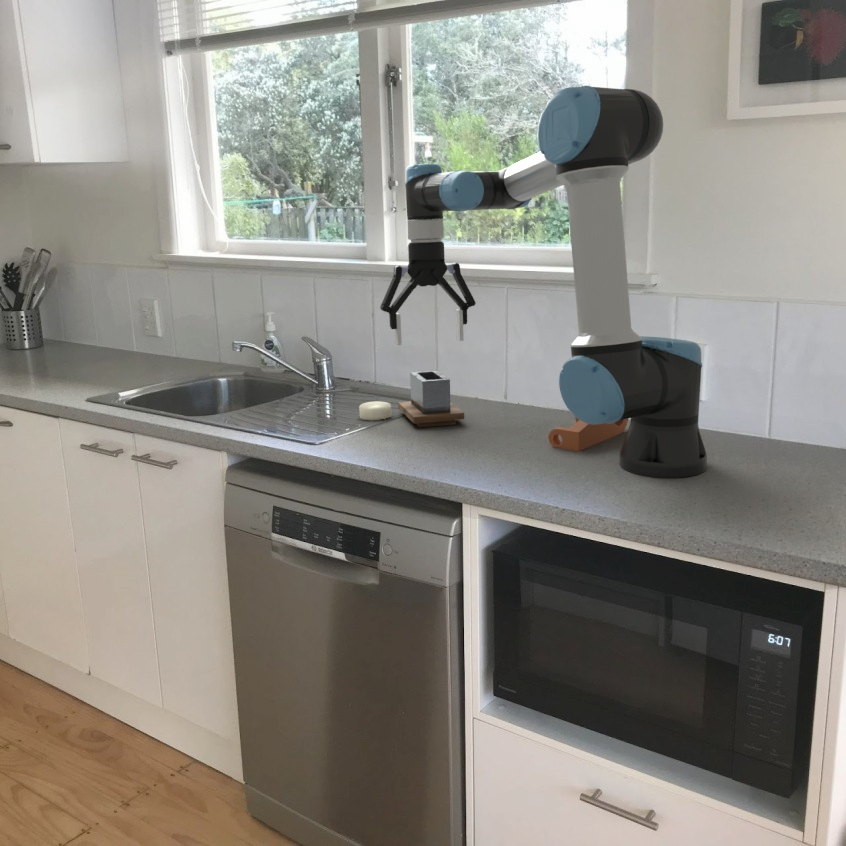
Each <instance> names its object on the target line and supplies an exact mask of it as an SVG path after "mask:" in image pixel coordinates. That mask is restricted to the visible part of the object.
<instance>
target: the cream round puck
mask: <svg viewBox="0 0 846 846" xmlns="http://www.w3.org/2000/svg"><path fill="white" fill-rule="evenodd" d="M358 409H359V418H360V419H361V420H365V421H366V420H367V421H381V420H380V419H384V420H387V419H386V418H388V419H390V418H392V404H391V403H390V402H387V401H380V400H379V401H376V400H375V401H368V402H367V401H366V402H364V403H361V404H359V407H358ZM389 417H390V418H389Z"/></svg>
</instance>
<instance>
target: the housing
mask: <svg viewBox="0 0 846 846" xmlns="http://www.w3.org/2000/svg"><path fill="white" fill-rule="evenodd" d="M409 378H410V380H409V381H410V401H411V404H413V405H414V406H415V407H416V408H417V409H418V410H419V411H420V412H421V413H423V414H430V413H442V412H451V411H450V402H451V379H450V378H448V376H445V375H444V374H443V373H441V372H440V371H438V370H424V371H410V372H409Z"/></svg>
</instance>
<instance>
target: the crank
mask: <svg viewBox="0 0 846 846" xmlns="http://www.w3.org/2000/svg"><path fill="white" fill-rule="evenodd" d="M574 419H575V423H574V424H573V425H572V426H570V427H565V426H560V427H556V428H555V429H552V430H551V431H550V432H549V433H548V441H549V444H550V445H551V446H552V447H554V448H557V449H563V450H569V451H573V452H574V451H575V452H581V451H583V450H586V449H587V448H590V447H591V446H594V445H596V444H599V443H601V442H604V441H606V440H608V439H610V438H613V437H615V436H618V435H620V434H622V433H623V432H624V431H625V429H626V428H627V426H628V422H629V419H624V420H619V421H617V422H615V423H612V424H607V423H604V424H596V425H593V424H587V423H585V422H582V421H581V420H579V419H577V418H576V417H575V416H574ZM559 436H560V438H561V439H562V440H561V439H560V438H559Z"/></svg>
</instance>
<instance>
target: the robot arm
mask: <svg viewBox="0 0 846 846" xmlns="http://www.w3.org/2000/svg"><path fill="white" fill-rule="evenodd" d="M663 133H664V119H663V113H662V112H661V109H660V107H659V106H658V104H657V102H656V100H654V98H653V97H651V96H650V95H648V94H647V93H645V92H643V91H641V90H638V89H631V88H611V87H601V86H600V87H598V86H590V85H583V86H570V87H566V88H562V89H561V90H558V91H557V92H555V93H554V94H553V95H552V97H550V98H549V100H548V101H547V102H546V105H545V108H543V109H542V112H541V114H540V117H539V119H538V125H537V145H538V149H539V151H538V152H537V153H534V154H532V155H530V156H528V157H526V158H524V159H521V160H519V161H517V162H515V163H513V164H512V165H509V166H507V167H505V168H503V169H500V170H491V171H490V170H489V171H487V170H486V171H480V170H479V171H475V170H474V171H470V170H465V169H464V170H454V171H446V172H443V171H442V169H443V168H442V166H441V165H440V164H438V163H419V164H417V163H416V164H409V165H408V166H407V167H406V169H405V183H404V187H405V201H406V202H405V203H406V205H405V206H406V219H407V222H406V223H407V239H408V240H409V241H410V242H409V243H408V245H407V251H408V265H407V266H400V265H395V266H394V267H393V276H392V279H391V281H390V284H389V286H388V288H387V291H386V293H385V295H384V297H383V300H382V303H381V304H380V307H379V308H380V310H381V311H383V312H384V313H388V315H389V327H390V329H391V330H394V343H395V344H396V345H397V346H402V327H401V326H402V324H401V323H402V322H401V319H402V318H401V313H399V312H398V311H399V310H400V309H401V308H402V306H403V305H404V303H405V302H406V301H407V299H408V297H409V296H410V295H411V294H412V292H413V291H414V290H415V289H416V288H417V287H418V286H419V287H427V286H430V287H431V286H432V287H435V286H437V285H438V286H440V288H442V290H444V291H445V293H446V294H447V295H448V296H449V297H450V298H451V299H452V301H453V302H454V303H455V305H457V307H458V308H457V309H455V326H456V333H455V334H456V340H458V341H461V342H462V341H464V325H467V323H468V309H469V308H471V307H474V306H476V301H475V298H474V297H473V294H472V292H471V291H470V289H469V287H468V285H467V283H466V281H465V279H464V277H463V276H462V273H461V267H460V263H458V262H451V263H450V264H446V261H445V259H446V258H445V243H444V241H442V239H444V238H445V236H444V235H445V234H444V233H445V231H444V212H467V211H479V210H515V209H520V208H525V207H527V206H528V205H529V204H530V202H531V200H533V198H535V197H538V196H540V195H542V194H545V193H548V192H550V191H552V190H555V189H557V188H559V187H562V186H564V187H565V189H566V198H567V199H566V200H567V210H568V219H569V220H568V221H569V231H570V243H571V244H570V247H571V256H572V257H571V258H572V267H573V268H572V269H573V281H574V291H575V292H574V293H575V303H576V316H577V327H578V333H577V336H576V338H575V339H574V340H573V341H572V342H571V343H570V352H571V353H570V354H571V357H570V358H568V360H566V362H564V364H563V365H562V369H561V370H560V372H559V378H558V385H559V386H558V387H559V391H560V395H561V398H562V401H563V403H564V404H565V406H566V408H567V409H568V411H569V412H571V413H572V415H573V416H574V418H575V417H576V418H577V419H579V420H581V421H582V422H585V423H587V424H593V425H596V424H604V423H607V424H612V423H615V422H617V421H619V420H624V419H628V420H629V419H630V424H629V426H628V429H627V431H626V432H627V433H626V434H625V438H624V440H623V441H622V442H623V443H622V445H621V448H620V451H619V463H618V464H619V466H620V467H621V469H623V471H627V472H629V473H632V474H636V475H639V476H645V477H652V478H663V479H667V478H669V479H677V478H678V479H679V478H686V477H687V478H688V477H693V476H696V475H697V476H698V475H700V474H702V473H704V472H705V471H706V470H707V464H708V461H707V460H708V456H707V452H706V448H705V445H704V442H703V438H702V434H701V431H700V427H699V418H700V417H699V414H700V413H699V412H700V397H701V394H700V393H701V380H702V367H703V363H702V349H701V346H700V345H699V344H698V343H697V342H694V341H690V340H685V339H678V338H677V339H676V338H669V337H657V336H647V335H646V336H640V335H638V334H637V333H636V332H635V331H634V329H632V321H631V308H630V305H631V304H630V294H629V283H628V282H629V281H628V270H627V269H628V268H627V255H626V254H627V253H626V242H625V232H624V230H625V229H624V220H623V219H624V218H623V203H622V191H621V180H622V179H623V178H624V176H625V175H626V173H627V172H628V171H629V165H631V164H634V163H636V162H639V161H641V160H643V159H645V158H647V157H649V155H651V153H653V152H654V151H655V149H656V148H657V147H658V145H659V143H660V140H662V139H661V138H662V136H663ZM447 271H448V272H449V274H451V275H452V277H453V279H454V281H455V283H456V284H457V286H458V289H459V291H460V292H461V294H462V296H463V299H462V297H461V296H460V295H459V294H458V292H456V291H455V289H454V288H453V287H452V286H451V285H450V284H449V282H448V281H447V279H445V278H444V276H445V274H446V273H447ZM406 273H407V274H408V275H409V277H410V279H409V281H408V282H407V283H406V285H405V286H404V288H403V289H402V291H401V292H400V294H399V295H398V296H397V298H396V299H395V300H394V301H393V299H394V297H395V294H396V292H397V289H398V288H399V286H400V285H399V284H400V283H401V280H402V278H403V277H404V276H405V274H406ZM464 300H465V301H464ZM392 301H393V303H392ZM391 303H392V304H391Z"/></svg>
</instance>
